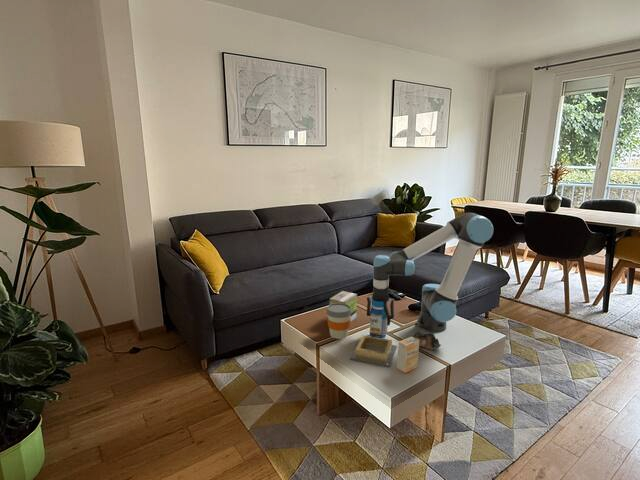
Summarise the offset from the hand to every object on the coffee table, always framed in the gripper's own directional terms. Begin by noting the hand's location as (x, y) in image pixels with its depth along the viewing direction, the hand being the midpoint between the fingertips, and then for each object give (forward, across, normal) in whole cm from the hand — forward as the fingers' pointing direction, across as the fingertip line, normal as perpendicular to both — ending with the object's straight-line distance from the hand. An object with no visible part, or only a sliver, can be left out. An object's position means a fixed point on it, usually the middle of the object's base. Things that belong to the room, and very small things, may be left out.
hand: (379, 329), depth 181 cm
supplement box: (+4, -17, +24) cm, 30 cm away
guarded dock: (+4, -1, +17) cm, 17 cm away
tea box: (+4, +23, -12) cm, 26 cm away
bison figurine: (+4, -23, +3) cm, 23 cm away
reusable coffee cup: (+4, +20, +5) cm, 21 cm away
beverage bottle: (+4, +1, 0) cm, 4 cm away
